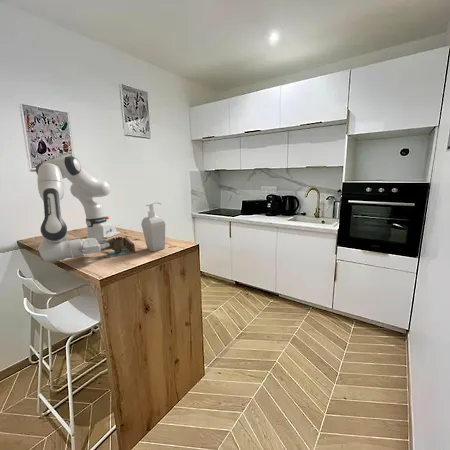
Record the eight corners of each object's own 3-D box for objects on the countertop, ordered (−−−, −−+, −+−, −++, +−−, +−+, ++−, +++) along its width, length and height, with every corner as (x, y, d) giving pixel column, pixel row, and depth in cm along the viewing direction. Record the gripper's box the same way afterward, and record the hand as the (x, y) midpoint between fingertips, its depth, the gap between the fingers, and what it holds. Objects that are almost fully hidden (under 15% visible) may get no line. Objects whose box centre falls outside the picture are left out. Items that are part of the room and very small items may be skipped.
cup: (108, 253, 139) (106, 238, 137) (121, 249, 144) (119, 235, 142) (114, 255, 134) (111, 240, 132) (127, 251, 139) (125, 237, 137)
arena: (104, 259, 130) (102, 250, 129) (98, 250, 146) (97, 242, 145) (135, 252, 138) (134, 243, 137) (127, 245, 154) (126, 237, 153)
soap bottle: (170, 248, 143) (166, 202, 138) (154, 252, 137) (148, 204, 131) (160, 244, 152) (155, 201, 147) (144, 248, 146) (138, 203, 141)
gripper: (78, 246, 119) (110, 240, 126) (75, 238, 136) (104, 233, 143) (80, 259, 120) (112, 252, 127) (77, 249, 137) (105, 244, 144)
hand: (107, 242), depth 135 cm, fingers open, 8 cm apart
